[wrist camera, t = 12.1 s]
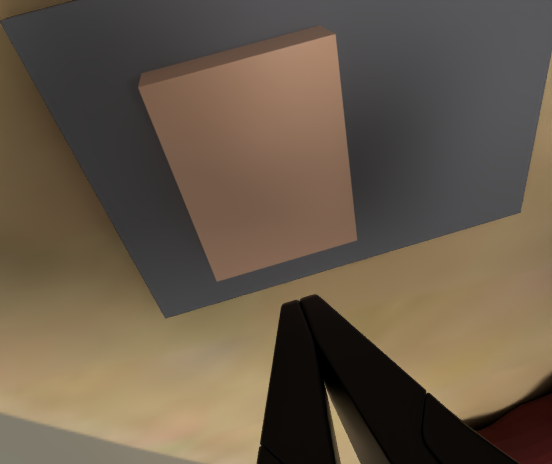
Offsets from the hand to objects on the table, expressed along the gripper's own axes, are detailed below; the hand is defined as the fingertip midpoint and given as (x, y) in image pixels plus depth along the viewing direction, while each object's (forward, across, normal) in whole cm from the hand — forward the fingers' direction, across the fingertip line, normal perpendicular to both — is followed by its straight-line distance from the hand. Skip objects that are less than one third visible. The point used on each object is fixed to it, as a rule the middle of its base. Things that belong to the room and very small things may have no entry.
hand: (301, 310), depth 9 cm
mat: (+8, -3, 0) cm, 9 cm away
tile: (+7, -3, 0) cm, 8 cm away
